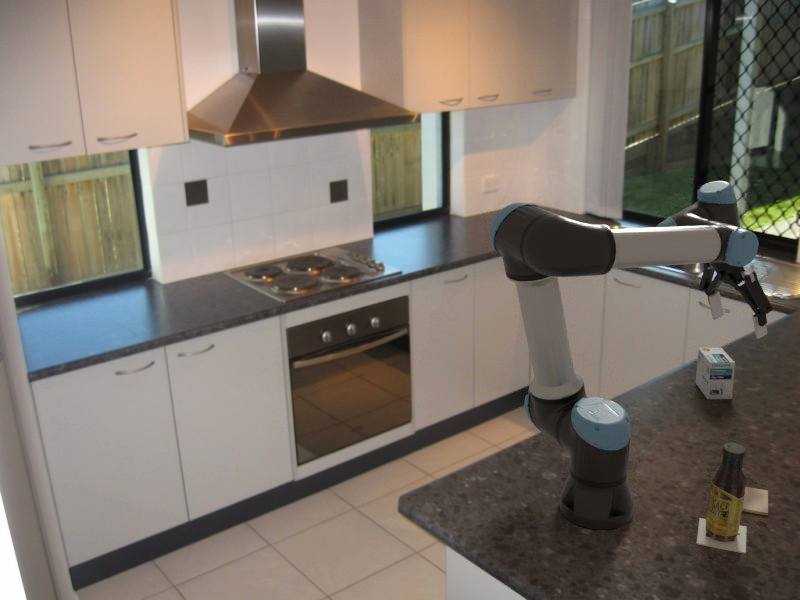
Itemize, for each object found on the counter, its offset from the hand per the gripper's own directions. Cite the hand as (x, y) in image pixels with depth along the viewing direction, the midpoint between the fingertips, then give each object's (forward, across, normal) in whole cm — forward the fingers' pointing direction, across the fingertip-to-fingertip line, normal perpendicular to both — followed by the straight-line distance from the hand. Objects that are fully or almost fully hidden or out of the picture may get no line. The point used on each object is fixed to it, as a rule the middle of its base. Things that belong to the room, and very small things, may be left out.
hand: (739, 326), depth 199 cm
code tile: (+16, -32, +39) cm, 53 cm away
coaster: (+20, -24, +27) cm, 41 cm away
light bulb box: (+31, +19, -3) cm, 36 cm away
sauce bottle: (+16, -32, +39) cm, 53 cm away
